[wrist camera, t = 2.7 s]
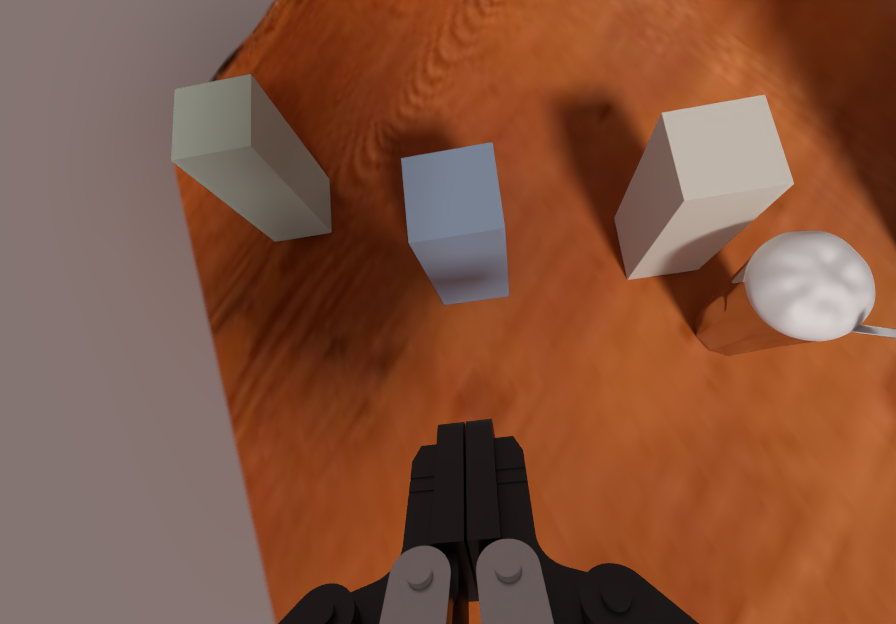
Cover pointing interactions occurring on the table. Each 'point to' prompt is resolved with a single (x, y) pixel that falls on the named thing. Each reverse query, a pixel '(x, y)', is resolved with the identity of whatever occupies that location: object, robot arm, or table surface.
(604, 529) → the table surface
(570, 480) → the table surface
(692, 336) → the table surface
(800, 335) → the milkshake
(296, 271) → the table surface
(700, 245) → the cream block
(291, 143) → the sage block
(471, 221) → the slate blue block
